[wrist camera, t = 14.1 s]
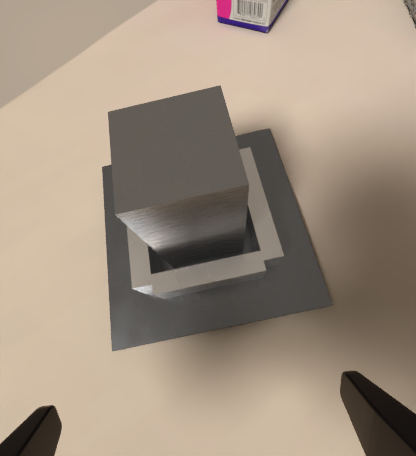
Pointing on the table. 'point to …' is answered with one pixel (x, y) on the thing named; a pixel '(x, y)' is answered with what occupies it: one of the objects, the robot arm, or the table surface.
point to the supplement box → (250, 13)
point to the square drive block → (180, 176)
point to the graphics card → (411, 8)
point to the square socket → (216, 265)
